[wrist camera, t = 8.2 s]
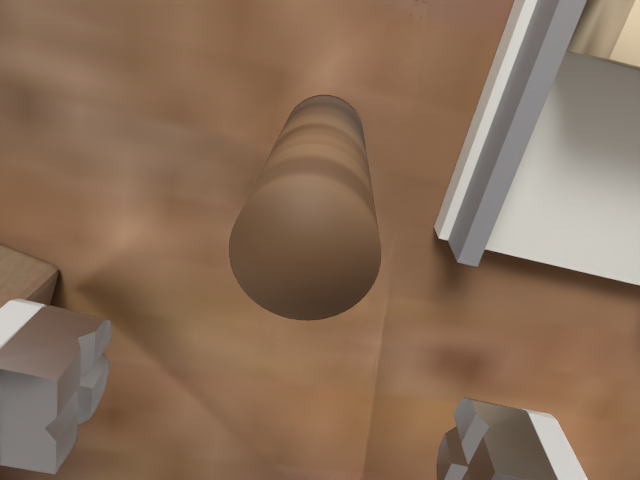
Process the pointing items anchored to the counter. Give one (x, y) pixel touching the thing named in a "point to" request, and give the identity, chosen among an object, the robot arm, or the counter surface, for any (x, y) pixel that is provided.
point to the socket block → (609, 32)
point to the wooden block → (25, 277)
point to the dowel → (310, 217)
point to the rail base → (550, 154)
